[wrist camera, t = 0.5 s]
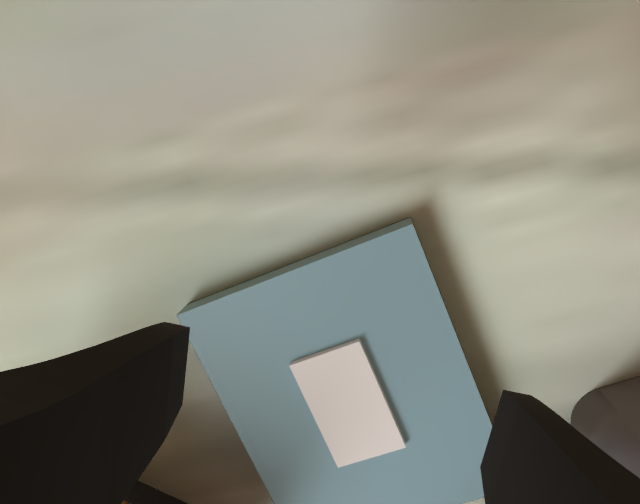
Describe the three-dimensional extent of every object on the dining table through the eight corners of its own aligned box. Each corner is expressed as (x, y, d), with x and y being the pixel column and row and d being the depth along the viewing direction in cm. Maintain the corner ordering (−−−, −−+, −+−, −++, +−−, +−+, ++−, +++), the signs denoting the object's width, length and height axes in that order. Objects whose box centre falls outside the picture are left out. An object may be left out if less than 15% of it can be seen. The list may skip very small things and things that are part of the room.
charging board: (509, 468, 22) (518, 493, 21) (300, 526, 24) (295, 553, 23) (410, 217, 20) (413, 225, 18) (187, 304, 22) (173, 318, 20)
